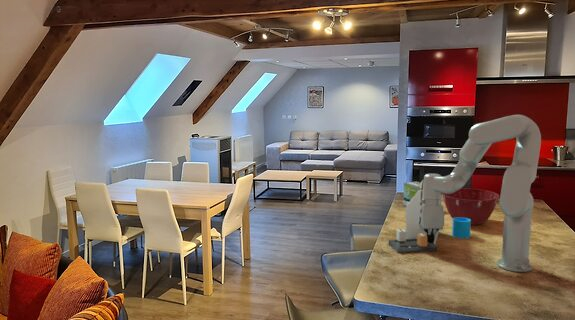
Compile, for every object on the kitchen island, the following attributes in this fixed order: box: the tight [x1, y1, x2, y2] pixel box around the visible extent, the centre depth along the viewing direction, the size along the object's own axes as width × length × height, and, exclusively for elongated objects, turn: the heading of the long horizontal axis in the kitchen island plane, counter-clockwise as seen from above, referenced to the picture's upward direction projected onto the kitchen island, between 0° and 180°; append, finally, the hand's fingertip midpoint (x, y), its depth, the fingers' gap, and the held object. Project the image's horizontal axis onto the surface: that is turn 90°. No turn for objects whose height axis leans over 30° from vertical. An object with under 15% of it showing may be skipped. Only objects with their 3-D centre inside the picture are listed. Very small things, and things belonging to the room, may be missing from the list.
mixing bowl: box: [441, 187, 500, 226], centre depth 248 cm, size 28×28×15 cm
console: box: [388, 238, 439, 254], centre depth 207 cm, size 12×18×2 cm, turn 96°
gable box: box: [405, 179, 440, 245], centre depth 221 cm, size 22×13×28 cm, turn 157°
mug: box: [451, 217, 472, 239], centre depth 225 cm, size 12×8×8 cm
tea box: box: [403, 181, 421, 207], centre depth 280 cm, size 15×10×15 cm, turn 25°
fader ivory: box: [395, 228, 406, 242], centre depth 210 cm, size 4×3×5 cm
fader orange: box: [417, 233, 427, 247], centre depth 203 cm, size 4×3×5 cm
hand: (430, 242), depth 204 cm, fingers closed
